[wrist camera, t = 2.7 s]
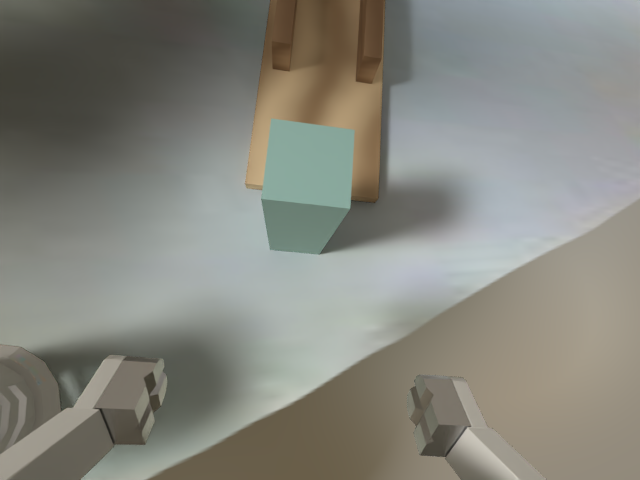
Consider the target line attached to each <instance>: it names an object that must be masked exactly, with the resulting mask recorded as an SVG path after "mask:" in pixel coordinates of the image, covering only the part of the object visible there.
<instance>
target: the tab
mask: <svg viewBox="0 0 640 480" xmlns="http://www.w3.org/2000/svg"><path fill="white" fill-rule="evenodd" d="M354 134H355V130H352V129H345V128H337V127H330V126H323V125H315V124H308V123H301V122H294V121H286V120H279V119H272V118H271V124H270V132H269V140H268V148H267V156H266V164H265V173H264V181H263V189H262V197H261V200H262V206H263V212H264V217H265V223H266V229H267V235H268V240H269V246H270V250H278V251H288V252H299V253H309V254H320V253H321V251H322V250H323V248H324V247H325V245H326V244H327V242H328V241H329V239H330V238H331V236H332V235H333V233H334V232H335V231H336V229H337V228H338V226H339V225H340V223H341V222H342V220H343V219H344V217H345V216H346V214H347V213H348V211H349V210H350V206H351V188H352V170H353V152H354Z"/></svg>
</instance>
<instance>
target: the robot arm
mask: <svg viewBox="0 0 640 480" xmlns="http://www.w3.org/2000/svg"><path fill="white" fill-rule="evenodd" d="M164 366H165V365H164V361H163V359H159V358H146V357H133V356H122V355H109V356H108V357H107V358H105V359H104V360H103V362H102V363H101V365H100V367H99V368H98V370H97V371H96V373H95V374H94V376H93V377H92V379H91V380H90V382H89V384H88V385H87V387H86V388H85V390H84V391H83V393H82V394H81V396H80V397H79V399H78V400H77V402H76V404H75V405H74V407H73V408H66V409H64V410H63V411H62V412H60V413H59V414H57V415H56V416H54V417H53V418H52V419H50V420H49V421H47V422H46V423H44V424H43V425H42V426H40V427H39V428H37V429H36V430H34V431H33V432H32V433H30V434H29V435H27V436H26V437H24V438H23V439H22V440H20V441H19V442H17V443H16V444H14V445H13V446H12V447H10V448H9V449H7V450H6V451H4V452H3V453H2V454H0V480H81V479H82V478H83V477H84V476H85V475H86V474H87V473H88V472H89V471H90V470H91V469H92V468H93V467H94V466H95V465H96V464H97V463H98V462H99V461H100V460H101V459H102V458H103V457H104V456H105V455H106V454H107V453H108V452H109V451H110V450H111V449H112V448H113V447H114V444H124V445H145V444H146V441H147V439H148V436H149V434H150V432H151V429H152V427H153V424H154V422H155V420H154V416H153V413H154V412H155V411H156V410H157V409H158V408H159V407H161V405H162V402H163V399H164V397H165V393H166V389H167V375H166V374H165V373H164V372H163V368H164ZM414 382H415V387H413V388H411V389H410V391H409V393H408V397H407V408H408V413H409V418H410V420H411V421H412V422H413V423H414V424H415V425H416V428H415V431H414V436H415V440H416V444H417V447H418V451H419V455H423V456H437V457H446V458H445V459H446V460H447V462H448V463H449V464H450V466H451V467H452V468H453V470H454V471H455V472H456V474H457V475H458V476H459V478H460V479H461V480H547V479H546V478H545V477H544V476H543V475H541V474H540V473H539V472H538V471H537V470H536V469H535V468H534V467H533V466H532V465H531V464H530V463H529V462H528V461H527V460H526V459H524V457H523V456H522V455H520V454H519V453H518V452H517V451H516V450H515V449H514V448H513V447H512V446H511V445H510V444H509V443H508V442H507V441H506V440H505V439H503V437H502V436H500V435H499V434H498V433H497V432H496V431H495V430H494V429H493V428H488V427H487V424H486V422H485V420H484V417H483V415H482V413H481V411H480V409H479V407H478V405H477V403H476V401H475V398H474V396H473V394H472V392H471V390H470V388H469V385H468V384H467V381H466V380H465V379H464V378H462V377H447V376H436V375H418V376H416V379H415V380H414Z"/></svg>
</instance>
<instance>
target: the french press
mask: <svg viewBox="0 0 640 480" xmlns="http://www.w3.org/2000/svg"><path fill="white" fill-rule="evenodd" d="M60 412H61V406H60V396H59V386H58V383H57V381H56V380H55V378H54V377H53V375H52V373H51V372H50V370H49V368H48V367H47V365H46V364H45V362H44V361H43V360H41V359H40V358H38V357H36V356H35V355H33V354H31V353H30V352H28V351H26V350H25V349H23V348H21V347H17V346H8V345H0V454H2V453H3V452H4V451H6V450H7V449H9V448H10V447H12V446H13V445H14V444H16V443H17V442H19V441H20V440H22V439H23V438H24V437H26V436H27V435H29V434H30V433H32V432H33V431H34V430H36V429H37V428H39V427H40V426H42V425H43V424H44V423H46V422H47V421H49V420H50V419H52V418H53V417H54V416H56V415H57V414H59V413H60Z"/></svg>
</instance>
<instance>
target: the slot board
mask: <svg viewBox="0 0 640 480" xmlns="http://www.w3.org/2000/svg"><path fill="white" fill-rule="evenodd" d="M384 22H385V0H270V6H269V14H268V21H267V28H266V35H265V43H264V50H263V57H262V65H261V72H260V79H259V87H258V94H257V101H256V108H255V116H254V123H253V130H252V138H251V145H250V152H249V160H248V167H247V174H246V181H245V184H246V188H250V189H258V190H262V189H263V181H264V173H265V164H266V156H267V148H268V140H269V132H270V124H271V118H272V119H279V120H286V121H294V122H301V123H308V124H315V125H323V126H330V127H337V128H345V129H352V130H355V134H354V152H353V170H352V188H351V200H355V201H364V202H373V203H375V202H376V201H377V200H378V195H379V166H380V137H381V108H382V80H383V51H384Z"/></svg>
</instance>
